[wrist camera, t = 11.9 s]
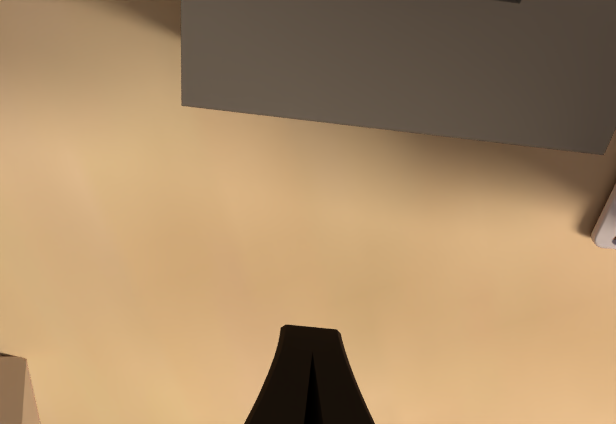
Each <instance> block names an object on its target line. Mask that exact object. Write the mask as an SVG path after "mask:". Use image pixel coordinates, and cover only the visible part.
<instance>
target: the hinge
mask: <svg viewBox="0 0 616 424" xmlns="http://www.w3.org/2000/svg"><path fill="white" fill-rule="evenodd" d="M0 424H41V422H40V418H39V413H38V409H37V404H36V400H35V395H34V391H33V386H32V382H31V377H30V373H29V368H28V363H27V359H25V358H21V357H17V356H8V357H0Z"/></svg>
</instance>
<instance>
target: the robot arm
mask: <svg viewBox="0 0 616 424" xmlns="http://www.w3.org/2000/svg"><path fill="white" fill-rule="evenodd" d="M615 236H616V184H615V186H614V188H613V190H612V192H611V194H610V196H609V198H608V200H607V202H606V205H605V207H604V209H603V211H602V213H601V215H600V217H599V219H598V221H597V223H596V225H595V227H594V229H593V231H592V234H591V239H592V241H593V242H594V243H595V245H597V246H598V247H601V248H608V249H616V239H614V240H613V238H614V237H615ZM244 424H375V423H374V421H373V419H372V417H371V414H370V412H369V410H368V408H367V406H366V403H365V401H364V399H363V397H362V394H361V392H360V390H359V387H358V385H357V382H356V380H355V377H354V375H353V372H352V369H351V367H350V364H349V361H348V358H347V355H346V352H345V349H344V345H343V342H342V338H341V334H340V333H339V331H338V330H336V329H326V328H316V327H305V326H295V325H285V326H283V327H281V330H280V337H279V342H278V346H277V350H276V353H275V356H274V359H273V362H272V364H271V367H270V370H269V372H268V375H267V377H266V379H265V382H264V384H263V386H262V389H261V391H260V393H259V396H258V398H257V400H256V402H255V404H254V406H253V408H252V410H251V412H250V413H249V415H248V417H247V419H246V421H245V423H244Z"/></svg>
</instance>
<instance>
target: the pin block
mask: <svg viewBox="0 0 616 424" xmlns="http://www.w3.org/2000/svg"><path fill="white" fill-rule="evenodd" d="M181 100H182V106H188V107H197V108H206V109H214V110H223V111H231V112H240V113H248V114H257V115H265V116H274V117H282V118H291V119H299V120H308V121H316V122H325V123H334V124H342V125H351V126H359V127H368V128H376V129H385V130H393V131H402V132H410V133H419V134H427V135H436V136H445V137H453V138H462V139H470V140H479V141H487V142H496V143H504V144H513V145H521V146H530V147H538V148H547V149H556V150H564V151H573V152H581V153H590V154H598V155H604V153H605V151H606V149H607V147H608V145H609V142H610V140H611V138H612V136H613V134H614V131H615V129H616V0H181Z"/></svg>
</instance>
